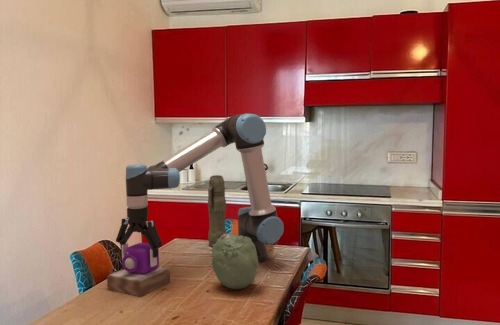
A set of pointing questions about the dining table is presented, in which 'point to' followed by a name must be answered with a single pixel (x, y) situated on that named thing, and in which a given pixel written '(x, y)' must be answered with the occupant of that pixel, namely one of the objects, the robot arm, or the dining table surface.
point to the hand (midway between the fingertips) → (139, 263)
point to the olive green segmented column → (216, 208)
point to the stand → (138, 281)
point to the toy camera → (138, 259)
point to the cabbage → (234, 260)
